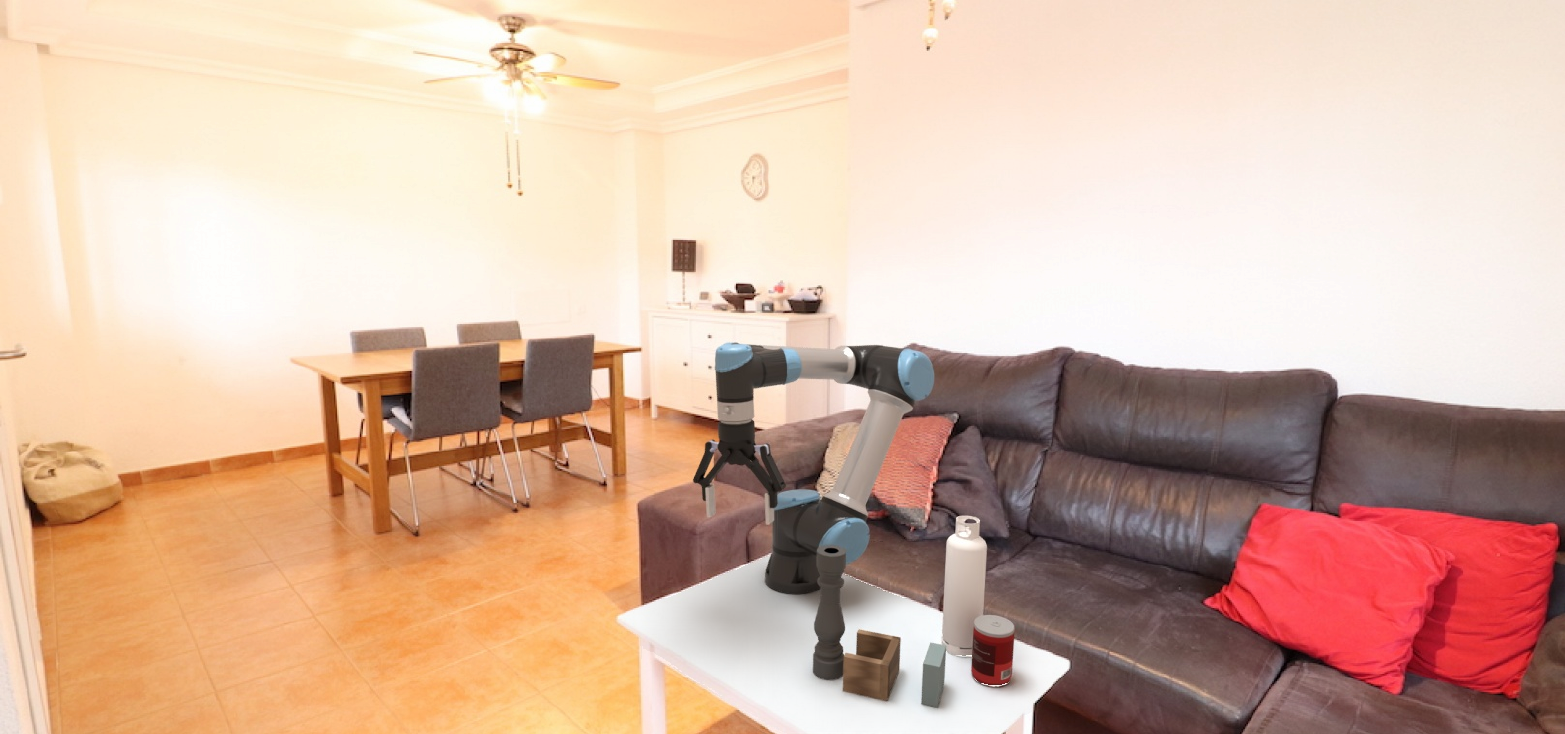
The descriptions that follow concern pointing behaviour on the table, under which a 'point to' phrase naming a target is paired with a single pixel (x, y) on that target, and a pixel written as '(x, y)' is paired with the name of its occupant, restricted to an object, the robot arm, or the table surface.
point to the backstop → (933, 675)
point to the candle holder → (829, 613)
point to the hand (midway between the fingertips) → (740, 519)
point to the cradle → (872, 665)
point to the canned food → (992, 649)
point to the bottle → (963, 586)
